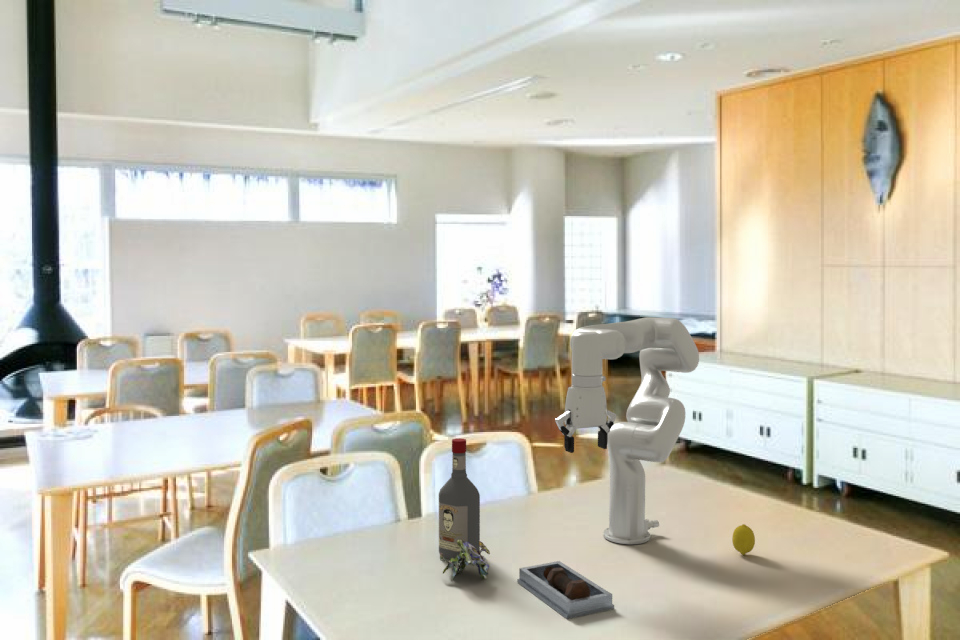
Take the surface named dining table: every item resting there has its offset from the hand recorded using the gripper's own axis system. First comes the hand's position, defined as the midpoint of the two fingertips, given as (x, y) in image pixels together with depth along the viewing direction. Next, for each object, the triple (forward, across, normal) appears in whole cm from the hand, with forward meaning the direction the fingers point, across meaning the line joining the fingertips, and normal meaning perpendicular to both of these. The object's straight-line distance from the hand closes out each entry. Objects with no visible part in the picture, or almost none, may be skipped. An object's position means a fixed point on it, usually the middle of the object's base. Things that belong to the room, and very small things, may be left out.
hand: (586, 449), depth 205 cm
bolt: (+28, +16, +17) cm, 36 cm away
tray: (+28, +16, +16) cm, 36 cm away
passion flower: (+29, +32, -2) cm, 43 cm away
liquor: (+28, +27, -17) cm, 43 cm away
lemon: (+28, -39, +14) cm, 50 cm away
